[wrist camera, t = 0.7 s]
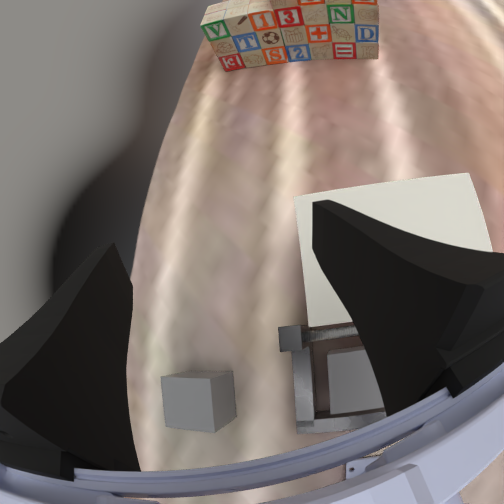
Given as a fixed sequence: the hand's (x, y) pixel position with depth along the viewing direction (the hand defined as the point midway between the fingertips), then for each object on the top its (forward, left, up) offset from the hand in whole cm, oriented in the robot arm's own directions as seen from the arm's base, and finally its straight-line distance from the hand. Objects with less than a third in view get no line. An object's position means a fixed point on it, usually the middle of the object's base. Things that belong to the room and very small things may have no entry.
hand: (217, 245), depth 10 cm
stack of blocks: (+32, -6, -17) cm, 37 cm away
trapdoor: (-1, -9, -14) cm, 16 cm away
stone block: (-9, +8, -16) cm, 20 cm away
